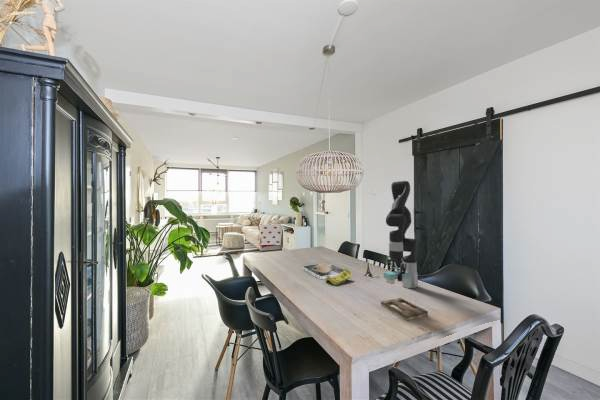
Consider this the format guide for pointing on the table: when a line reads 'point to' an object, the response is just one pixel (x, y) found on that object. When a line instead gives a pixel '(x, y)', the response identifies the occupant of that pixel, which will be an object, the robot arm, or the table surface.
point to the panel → (395, 276)
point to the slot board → (404, 308)
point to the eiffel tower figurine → (369, 271)
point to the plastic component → (339, 277)
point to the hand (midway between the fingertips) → (396, 279)
